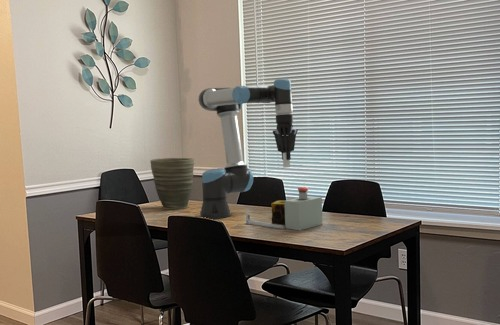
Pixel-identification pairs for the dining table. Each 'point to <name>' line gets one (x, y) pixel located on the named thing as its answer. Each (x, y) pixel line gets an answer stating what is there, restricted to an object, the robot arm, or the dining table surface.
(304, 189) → the plunger
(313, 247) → the dining table surface
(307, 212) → the gauge cabinet
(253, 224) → the rail track
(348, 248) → the dining table surface
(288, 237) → the dining table surface
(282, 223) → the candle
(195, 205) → the dining table surface
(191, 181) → the vase
